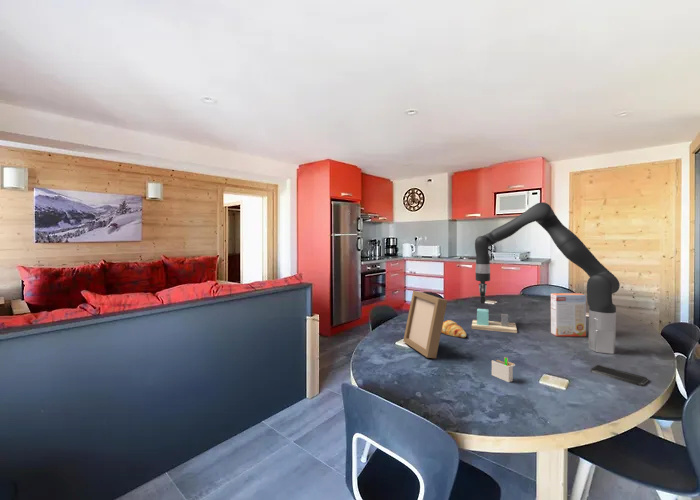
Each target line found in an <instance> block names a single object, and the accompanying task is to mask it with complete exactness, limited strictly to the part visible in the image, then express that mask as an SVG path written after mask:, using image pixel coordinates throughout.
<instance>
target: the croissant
mask: <svg viewBox="0 0 700 500" xmlns="http://www.w3.org/2000/svg"><path fill="white" fill-rule="evenodd" d="M441 334H444V335H446V336H451V337H456V338H457V337H459V338H461V339H462V338H466V337H467V333H466V331H465V330H464V328H463V327H462V326H461V325H459V324H458V323H457V322H455V321H453V320H451V319H447V320H445V321H443V326H442V331H441Z"/></svg>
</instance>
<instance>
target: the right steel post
mask: <svg viewBox="0 0 700 500" xmlns="http://www.w3.org/2000/svg"><path fill="white" fill-rule="evenodd" d="M500 315H501V321H500V322H501V326H507V327H508V323H509V314H508V313H501V314H500Z"/></svg>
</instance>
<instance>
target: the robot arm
mask: <svg viewBox="0 0 700 500" xmlns="http://www.w3.org/2000/svg"><path fill="white" fill-rule="evenodd" d="M534 222H536V223H537V224H538V225H539V226H541V227H542V229H544V230H545V231H546V232H547V233H548V235H549V236H550V238H551V240H552V241H553V243H554V244H555V246H556V247H557V249H558V250H559V251H560V252H561V254H563V256H564V257H565V258H566V259H567V260H568V261H570V262H572V263H573V264H574V265H575V266H577V267H578V268H580V269H582V270H583V271H584V272H585V273H586V274H587V276H588V279H587V282H586V303H587V304H588V305H587V306H588V349H589V350H591V351H594V352H595V353H602V354H610V355H614V354H615V352H616V325H617V323H616V320H617V306H616V305H615V304H614V303H613V294H615V293H617V292H618V291H619V290H620V287H621V286H620V285H621V284H620V280H619V279H618V278H617V277H616V276H615V274H613V273H612V272H611V271H610V270H609V269H607V268H606V267H605V266H604V264H602V263H601V262H600V261H599V260H598V259H597V258H596V256H595V255H594V254H593V252H592V251H591V250H590V249H589V248H588V247H587V246H586V245H585V244H584V242H583V241H582V240H581V239H580V238H579V237H578V236H577V235H576V234H575V233H574V232H573V231H572V230H570V229H569V228H567V227H566V226H565V225H564V224H563V223H562V222H561V221H560V219H559V218H558V216H557V215H556V213H555V212H554V210H553V208H552V207H551V205H550V204H548V203H546V202H543V201H542V202H538V203H535V204H533V205H532V206H531V207H529V208H528V209H527V210H525V211H524V212H523V213H521V214H519V215H518V216H516V217H514V218H513V219H511V220H510V221H508V222H506V223H504V224H501V225H500V226H498V227H496V228H494V229H492V230H491V231H490V232H488V233H486V234H484V235H479V236H478V237H476V238H475V241H474V251H475V255H476V256H475V281H477V282H480V283H478V289H479V291H478V292H479V293H480V294H479V297H480V304H483V305H484V304H485V303H486V293H487V288H488V287H487V286H488V285H487V283H486V282H490V281H491V259H490V258H491V256H490V254H489V248H490V247H491V246H493V245H495V244H497V243H499V242H501V241H503V240H506V239H508V238H510V237H512V236H513V235H514V234H516V233H517V232H518V231H520V230H521V229H522V228H524V227H526V226H527V225H529V224H532V223H534Z"/></svg>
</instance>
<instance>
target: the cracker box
mask: <svg viewBox="0 0 700 500" xmlns="http://www.w3.org/2000/svg"><path fill="white" fill-rule="evenodd" d="M550 334H552V335H553V336H555V337H586V336H587V294H584V293H582V292H557V293H555V292H554V293H553V292H552V293H550Z"/></svg>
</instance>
